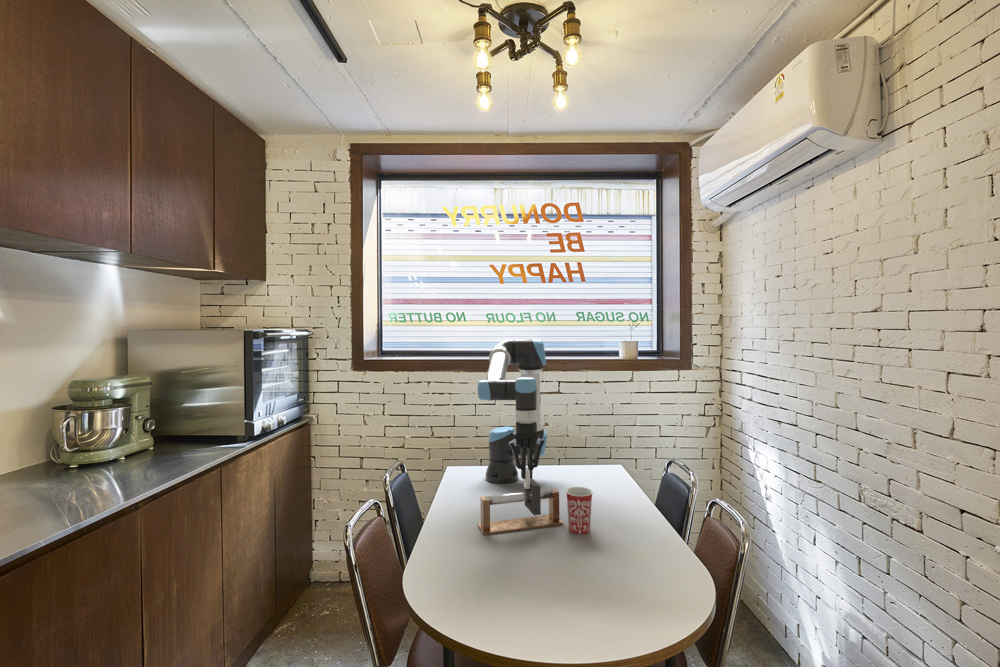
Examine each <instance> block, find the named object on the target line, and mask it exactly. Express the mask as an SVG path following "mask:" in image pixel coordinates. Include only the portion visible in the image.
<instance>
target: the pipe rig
mask: <svg viewBox="0 0 1000 667" xmlns="http://www.w3.org/2000/svg"><path fill="white" fill-rule="evenodd" d="M540 495H541V500H548V514H545V515H544V514H543V515H542V514H541V515H533V516H528V517H520V518H512V519H504V520H497V521H496V520H495V521H491V506H496V505H502V504H511V503H519V502H520V503H521V502H525V501H531V500H532V491H531V492H524V491H523V492H522V491H521V492H515V493H505V494H498V495H497V494H495V495H484V496H482V495H481V496H480V498H479V500H480V504H479V505H480V522H479V523H478V524H477V526H478V528H479V530H480V532H481V534H482V536H487V535H488V536H489V535H496V534H504V533H511V532H517V531H525V530H532V529H533V530H534V529H541V528H547V527H549V528H550V527H555V526H556V527H557V526H563V525H564V521H562V520H561V518H560V491H559V490H558V489H557V488H548V489H542V490H541V489H540Z"/></svg>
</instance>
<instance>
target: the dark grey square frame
mask: <svg viewBox="0 0 1000 667" xmlns="http://www.w3.org/2000/svg"><path fill="white" fill-rule="evenodd" d="M523 487H524V486H523ZM523 489H524V491H523V492H531V491H532V500H531V501H524V506H525V507H526V508H527V509H528V511H529V512H530V513H531V514H532V515H533V516H542V514H541V513H542V512H541V508H542V506H541V504H542V503H541V500H542V499H541V495H540V490H541V485H540V484H539V483H538V482H537V481H535V479H534V478H533V477H532V478H530V489H526V488H525V487H524V488H523Z"/></svg>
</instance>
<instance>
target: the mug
mask: <svg viewBox="0 0 1000 667" xmlns="http://www.w3.org/2000/svg"><path fill="white" fill-rule="evenodd" d="M565 493H566V503H567V504H566V505H567V518H568V520H567V521H568V522H567V523H568V531H570V532H571V533H572V534H577V535H585V534H588V533H590V531H591V519H592V518H591V516H592V503H593V502H592V500H593V493H594V492H593V490H592V489H591V488H588V487H584V486H571V487H569V488H567V489H566V490H565Z"/></svg>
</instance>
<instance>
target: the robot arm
mask: <svg viewBox="0 0 1000 667" xmlns="http://www.w3.org/2000/svg"><path fill="white" fill-rule="evenodd" d="M488 361H489V364H488V365H489V366H488V369H487V374H486V376H485V379H482V380H479V381H478V383H477V397H478V399H479V400H480V401H489V402H490V401H515V421H516V422H515V428H514V427H512V426H502V427H496V428H493V429H491V430H490V431H489V434H488V456H489V458H488V459H489V461H488V465H487V468H486V471H485V480H486V481H487V482H489V483H493V484H508V483H509V484H510V483H514V482H516V481H518V480H519V472H518V469H519V470H520V478H521V479H522V480H523V487H525V488H526V489H530V478H532V479H533V470H534V469H535V468H538V466H539V461H540V457H543V456H545V453H546V448H547V447H546V446H547V439H548V431H547V430H546V429H544V428H545V427H544V426H543V424H542V423H541V372H542V371H543V369H544V366H545V365H547V358H546V352H545V346H544V341H543V340H542V339H539V338H538V339H537V338H524V339H523V338H522V339H521V338H517V339H512V338H511V339H510V338H509V339H505V340H503V341H501V342H499V343H498V344H496V345H494V346H493V347H492V349H491V350H490V352H489V356H488ZM511 365H513V366H517V370H518V371H519V372H520V377H516V379H510V380H508V379H506V376H507V372H508V366H511ZM519 457H520V458H519Z"/></svg>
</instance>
